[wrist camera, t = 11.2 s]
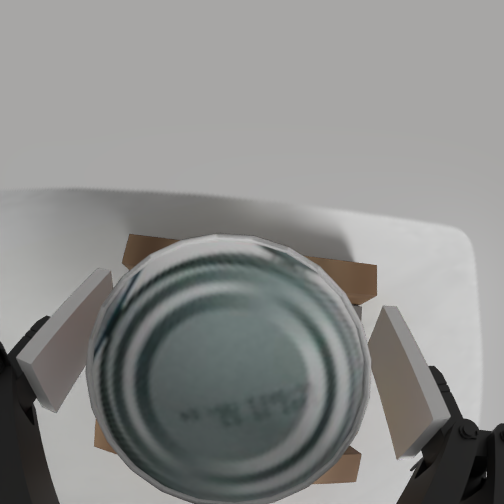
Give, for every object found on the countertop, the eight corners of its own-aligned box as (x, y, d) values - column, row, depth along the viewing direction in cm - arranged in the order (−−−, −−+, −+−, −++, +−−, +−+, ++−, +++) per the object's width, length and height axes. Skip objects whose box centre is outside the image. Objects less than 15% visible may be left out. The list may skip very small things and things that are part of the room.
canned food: (322, 355, 19) (420, 341, 7) (246, 447, 17) (249, 548, 5) (228, 283, 20) (207, 183, 9) (152, 372, 18) (42, 375, 7)
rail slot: (112, 437, 17) (94, 446, 14) (142, 250, 21) (129, 233, 19) (341, 468, 16) (355, 481, 13) (360, 278, 21) (376, 265, 18)
